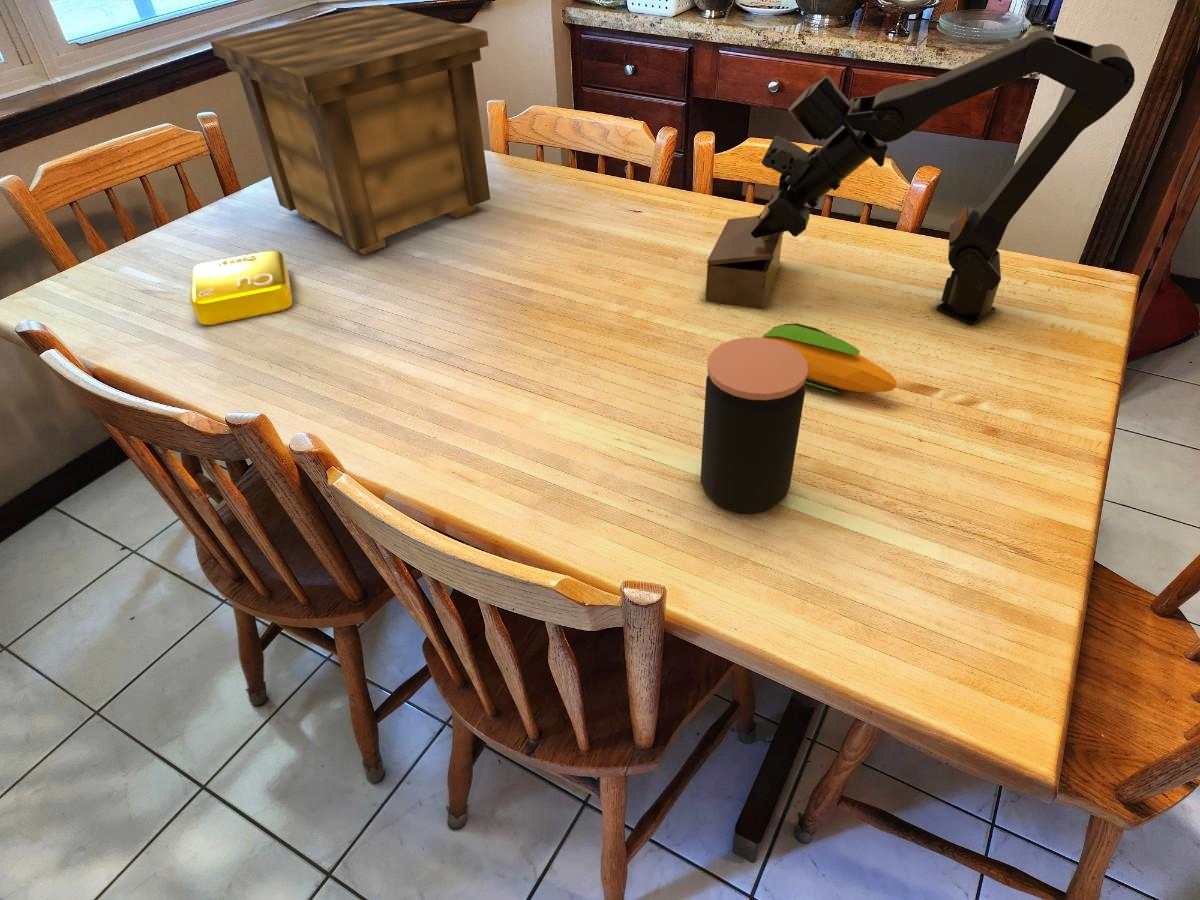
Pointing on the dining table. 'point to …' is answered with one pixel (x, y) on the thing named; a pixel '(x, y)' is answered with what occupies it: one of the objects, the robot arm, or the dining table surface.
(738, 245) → the brown box lid
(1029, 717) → the dining table surface
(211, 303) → the element tile
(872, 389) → the corn
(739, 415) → the coffee jar
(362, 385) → the dining table surface
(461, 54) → the crate
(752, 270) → the brown wooden box
